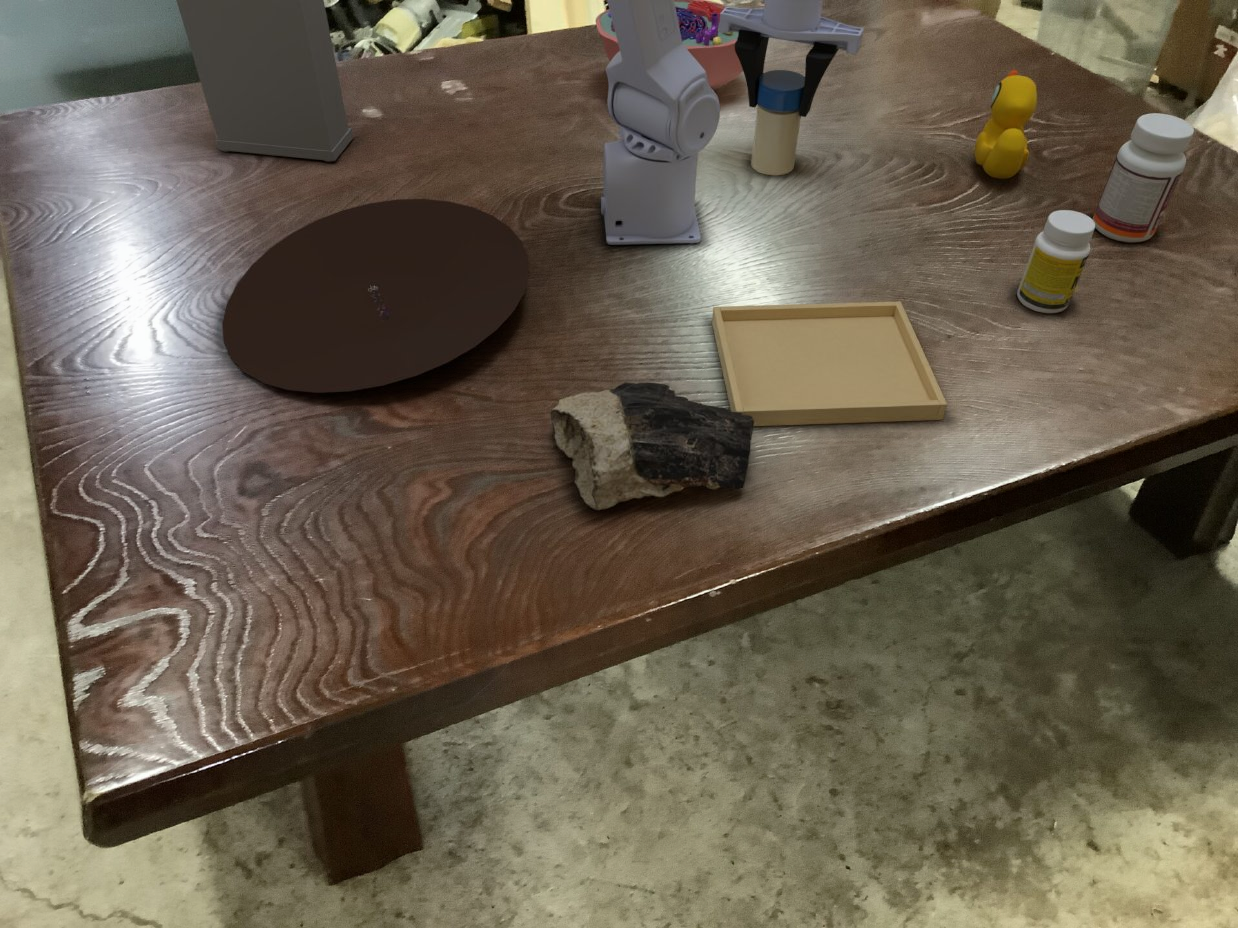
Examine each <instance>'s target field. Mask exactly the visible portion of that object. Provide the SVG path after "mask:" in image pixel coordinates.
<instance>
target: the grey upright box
mask: <svg viewBox="0 0 1238 928" xmlns="http://www.w3.org/2000/svg"><path fill="white" fill-rule="evenodd" d="M175 1H176V3H177V7H178V11H179V15H180V17H181V20H182V21H181V22H182V24H183V27H184V31H185V33H186V34H185V35H186V37H187V41H188V44H189V48H190V51H191V55H192V58H193V61H194V65H195V68H196V71H197V74H198V79H199V82H200V85H201V89H202V92H203V95H204V99H205V103H206V105H207V109H208V112H209V115H210V119H211V122H212V123H211V124H212V125H213V129H214V133H215V137H216V140H215V142H216V146H217V149H218V151H222V152H225V153H227V152H237V153H238V152H239V153H246V154H247V153H248V154H256V155H257V154H258V155H267V156H268V155H269V156H278V157H287V158H299V159H309V160H318V161H319V160H320V161H324V162H327V163H330V162H336V160H337V159H338V158H339V157H340V155H341V154H342V153H343V151H344V150H345V149H346V148H347V146H348V145H349V144H350V143H351V141H353V139H354V138H355V136H354V131H353V127H349V125H348V124H349V123H348V118H347V113H346V108H345V104H344V98H343V93H342V88H341V83H340V78H339V72H338V67H337V62H336V57H335V52H334V47H333V42H332V37H331V32H330V26H329V21H328V16H327V15H328V14H327V10H326V5H325V1H324V0H175Z"/></svg>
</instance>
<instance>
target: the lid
mask: <svg viewBox="0 0 1238 928" xmlns="http://www.w3.org/2000/svg"><path fill="white" fill-rule="evenodd" d="M804 82H805V75H803V74H801V73H799V72H796V71H792V70H787V69H773V70H769V71H765V72H763V74H762V75H760V77H759V82H758V91H757V102H758V104H759V105H761V106H762V107H764V108H766V109H769V110H773V111H782V112H786V111H794V110H797V109H799V108H800V105H801V100H802V95H803V90H804ZM758 104H757V105H758Z"/></svg>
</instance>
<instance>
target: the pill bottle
mask: <svg viewBox="0 0 1238 928" xmlns="http://www.w3.org/2000/svg"><path fill="white" fill-rule="evenodd" d="M1194 133H1195V128H1194V126H1192V124H1191V123H1189V122H1188V121H1187V120H1185V119H1183V118H1180V117H1178V116H1175V115H1171V114H1166V113H1155V112H1153V113H1146V114H1143V115H1140V116H1139V117H1138V118H1137V120H1136V121H1135V125H1134V127H1133V129H1132V131H1131V134H1130V139H1129V140H1128V141H1126V142H1125V143H1124V144H1122V146H1121V147H1120V148H1119V150H1118V152H1117V154H1116V156H1115V160H1114V162H1113V165H1112V167H1111V170H1110V173H1109V174H1108V177H1107V180H1106V183H1105V185H1104V188H1103V190H1102V193H1101V196H1100V197H1099V200H1098V203H1097V205H1096V208H1095V211H1094V213H1093V216H1092V220H1093V221H1094V223H1095V229H1096V230H1097V231H1098V232H1099V233H1100V234H1102V235H1103V236H1105V237H1107V238H1108V239H1111V240H1114V241H1118V242H1124V243H1141V242H1146V241H1147V240H1149V239H1151V238H1152V237H1154V235H1155V233H1156V231H1157V229H1158V227H1159V226H1160V222H1161V220H1162V218H1163V216H1164V214H1165V212H1166V210H1167V207H1168V205H1169V203H1170V201H1171V198H1172V196H1173V194H1174V192H1175V190H1176V187H1177V185H1178V184H1179V181H1180V179H1181V177H1182V174H1183V172H1184V169H1185V167H1186V164H1187V158H1186V155H1185V153H1184V152H1186V151H1187V150H1188V148H1189V145H1190V142H1191V140H1192V138H1193V136H1194Z"/></svg>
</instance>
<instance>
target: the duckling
mask: <svg viewBox="0 0 1238 928" xmlns="http://www.w3.org/2000/svg"><path fill="white" fill-rule="evenodd" d="M1038 93H1039V92H1038V88H1037V85H1036V83H1035V81H1034V80H1032V78H1030V77H1029V76H1025V75H1019V72H1018V70H1014V69H1013V70H1011V71H1009V73H1008V74H1007V76H1006V77H1005V78H1003V79H1002V80H1001V81H1000V82H998V84H997V85H996V87H995V89H994V90H993V93H992V97H991V101H990V114H991V117H990V118H989V119H988V120H987V121H986V123H985V125H984V126H983V129H982V131H981V132H980V133H979V134H978V136H977V138H976V141H975V144H974V157H975V161H976V164H978V165H979V166H982V168H983V170H984V172H985V173H986V174H987V175H988V176H990V177H991V178H994V179H1001V180H1005V179H1010V178H1012V177H1014V176H1015V175H1016V174H1017V173H1018V172H1019V171H1020V170H1021V169H1023V168H1024V167H1025V166H1026V164H1028V163H1027V162H1028V160H1029V156H1030V152H1029V149H1028V137H1026V135H1025V127H1024V125H1025V124H1026V123H1028V122H1029V121H1030V119H1031V118H1032V117H1033V115H1034V113H1035V111H1036V109H1037V104H1038V100H1039V99H1038V97H1039V94H1038Z"/></svg>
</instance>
